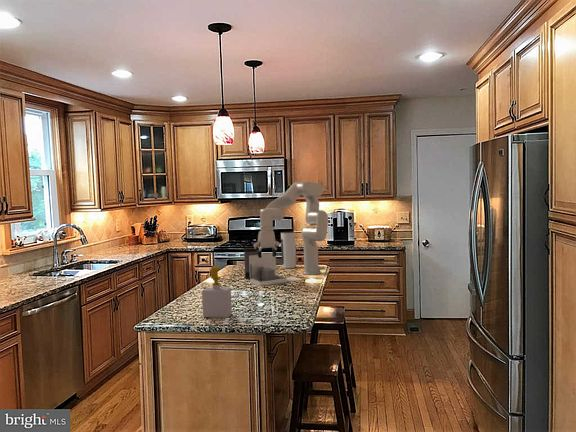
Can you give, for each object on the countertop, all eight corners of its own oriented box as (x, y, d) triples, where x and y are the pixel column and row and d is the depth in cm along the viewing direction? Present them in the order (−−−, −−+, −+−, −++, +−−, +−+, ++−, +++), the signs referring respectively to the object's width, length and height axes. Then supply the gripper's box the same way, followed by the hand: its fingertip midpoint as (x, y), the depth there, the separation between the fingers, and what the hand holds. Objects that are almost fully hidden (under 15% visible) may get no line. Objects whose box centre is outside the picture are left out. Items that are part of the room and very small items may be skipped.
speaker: (282, 266, 363) (281, 231, 361) (296, 266, 362) (295, 230, 360) (281, 268, 352) (280, 232, 351) (295, 268, 351) (294, 232, 350)
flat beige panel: (293, 277, 316) (293, 276, 316) (303, 280, 306) (303, 279, 306) (280, 279, 312) (279, 278, 312) (289, 282, 301) (289, 281, 301)
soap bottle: (232, 314, 230) (230, 264, 228) (228, 318, 223) (226, 267, 222) (207, 314, 232) (205, 264, 230) (202, 317, 225) (200, 267, 224)
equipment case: (276, 279, 312) (275, 252, 311) (287, 283, 299) (286, 255, 298) (250, 283, 303) (249, 255, 302) (260, 286, 291) (259, 258, 290)
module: (269, 281, 305) (269, 268, 305) (274, 282, 299) (274, 269, 299) (262, 282, 303) (262, 269, 302) (267, 283, 297) (267, 270, 296)
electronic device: (260, 278, 319) (259, 247, 318) (259, 279, 313) (258, 248, 312) (246, 278, 320) (245, 247, 319) (244, 279, 314) (243, 248, 313)
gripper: (276, 228, 306) (276, 255, 307) (251, 229, 298) (251, 257, 299) (282, 228, 300) (282, 256, 301) (256, 230, 291) (256, 258, 292)
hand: (267, 257), depth 300 cm, fingers open, 9 cm apart
